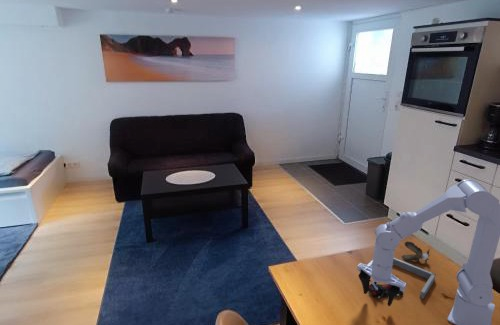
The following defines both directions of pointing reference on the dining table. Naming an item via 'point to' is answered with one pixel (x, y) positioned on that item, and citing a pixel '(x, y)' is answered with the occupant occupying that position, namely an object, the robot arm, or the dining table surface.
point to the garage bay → (417, 271)
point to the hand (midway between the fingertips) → (377, 297)
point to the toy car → (381, 290)
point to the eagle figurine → (415, 250)
